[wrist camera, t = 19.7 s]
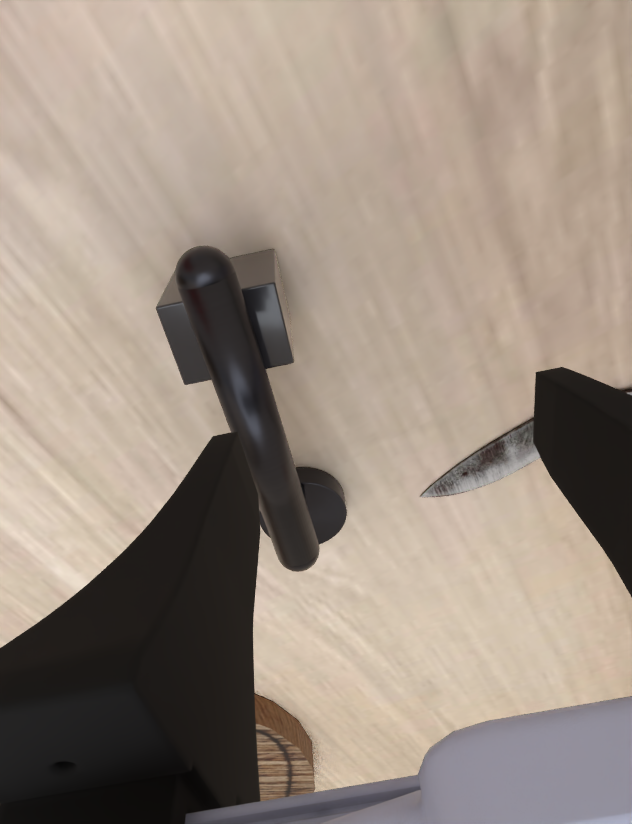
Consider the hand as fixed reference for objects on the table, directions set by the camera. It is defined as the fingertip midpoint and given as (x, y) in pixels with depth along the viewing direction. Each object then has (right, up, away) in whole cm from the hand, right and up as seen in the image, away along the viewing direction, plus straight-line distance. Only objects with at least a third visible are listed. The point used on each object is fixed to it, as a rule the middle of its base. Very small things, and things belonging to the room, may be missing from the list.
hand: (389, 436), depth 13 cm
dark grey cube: (-5, +5, +9) cm, 11 cm away
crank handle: (-4, +1, +11) cm, 12 cm away
